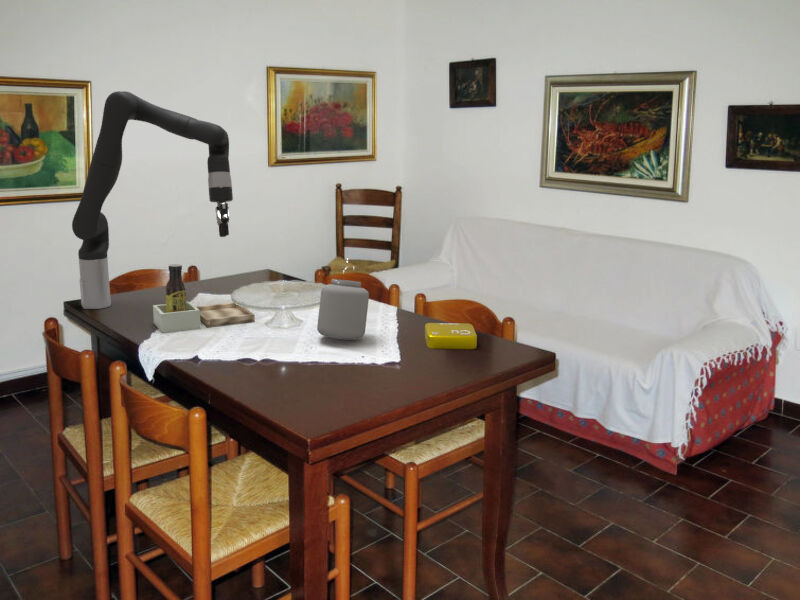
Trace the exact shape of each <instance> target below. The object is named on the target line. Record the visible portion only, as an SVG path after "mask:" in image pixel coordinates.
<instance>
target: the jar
mask: <svg viewBox="0 0 800 600" xmlns="http://www.w3.org/2000/svg"><path fill="white" fill-rule="evenodd" d="M346 263H349V258H346ZM345 270H347V267H345V268H344V270H342V272H343V273H345ZM354 270H355V266H353V271H354ZM361 286H362V282H361V281H356V280H355V281H354V280H346V279H335V278H332V279H331V283H329V284H326V285H323V287H322V288H321V291H320V297H319V307H318V317H317V326H316V328H317V332H318V333H319V334H320V335H322V336H323V337H328V338H332V339H340V340H360V339H361V338H363V337H364V336H365V333H366V326H367V319H368V310H369V309H368V308H369V300H370V293H369V291H368V290H367V289H365V288H364V287H361Z"/></svg>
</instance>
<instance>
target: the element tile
mask: <svg viewBox="0 0 800 600" xmlns="http://www.w3.org/2000/svg"><path fill="white" fill-rule="evenodd" d="M424 338H425V344H426V347H427V348H428V349H433V350H439V349H440V350H474V349H477V347H478V346H477V345H478V344H477V343H478V335H477V333H476V330H475V328H474V326H473V324H471V323H466V322H465V323H462V322H461V323H457V322H456V323H454V322H453V323H452V322H444V323H443V322H427V323H426V324H424Z"/></svg>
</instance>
